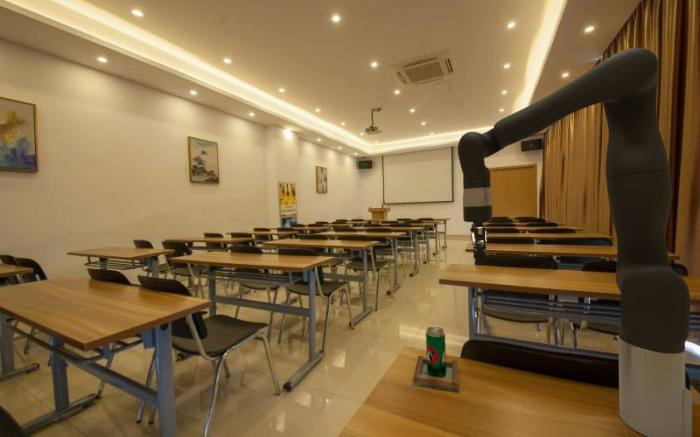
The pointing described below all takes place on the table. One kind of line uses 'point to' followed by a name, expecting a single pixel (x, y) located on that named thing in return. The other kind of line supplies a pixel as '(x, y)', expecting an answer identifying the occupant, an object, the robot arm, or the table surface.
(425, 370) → the tray
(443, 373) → the soda can
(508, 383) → the table surface
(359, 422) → the table surface
